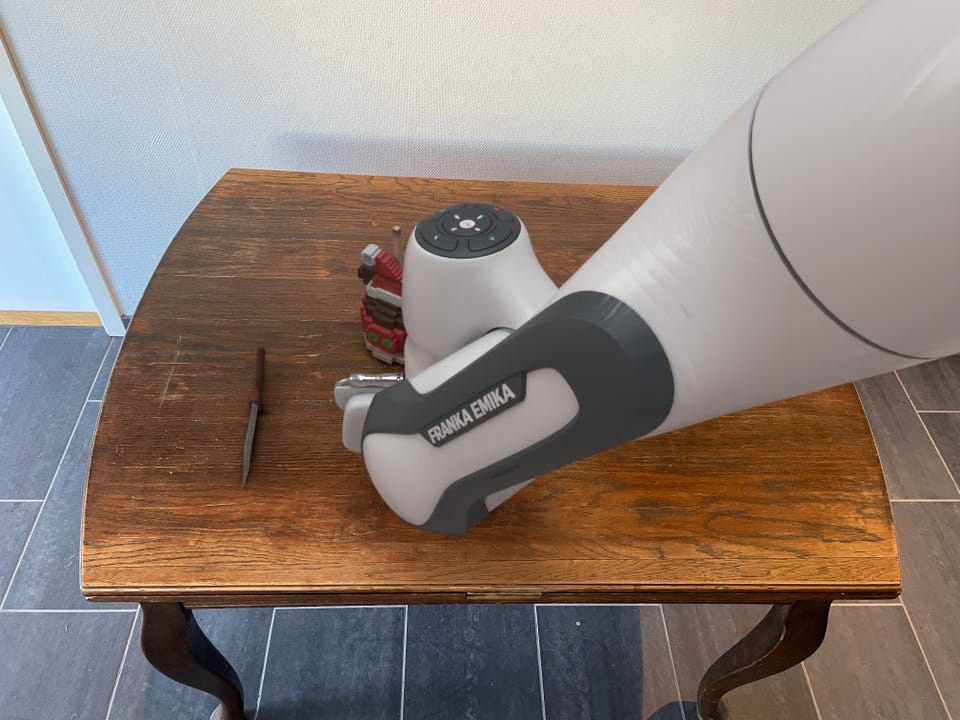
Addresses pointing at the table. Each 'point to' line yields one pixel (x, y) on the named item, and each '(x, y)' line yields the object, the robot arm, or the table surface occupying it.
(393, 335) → the christmas cupcake
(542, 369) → the robot arm
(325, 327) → the table surface
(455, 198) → the table surface
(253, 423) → the knife
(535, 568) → the table surface
